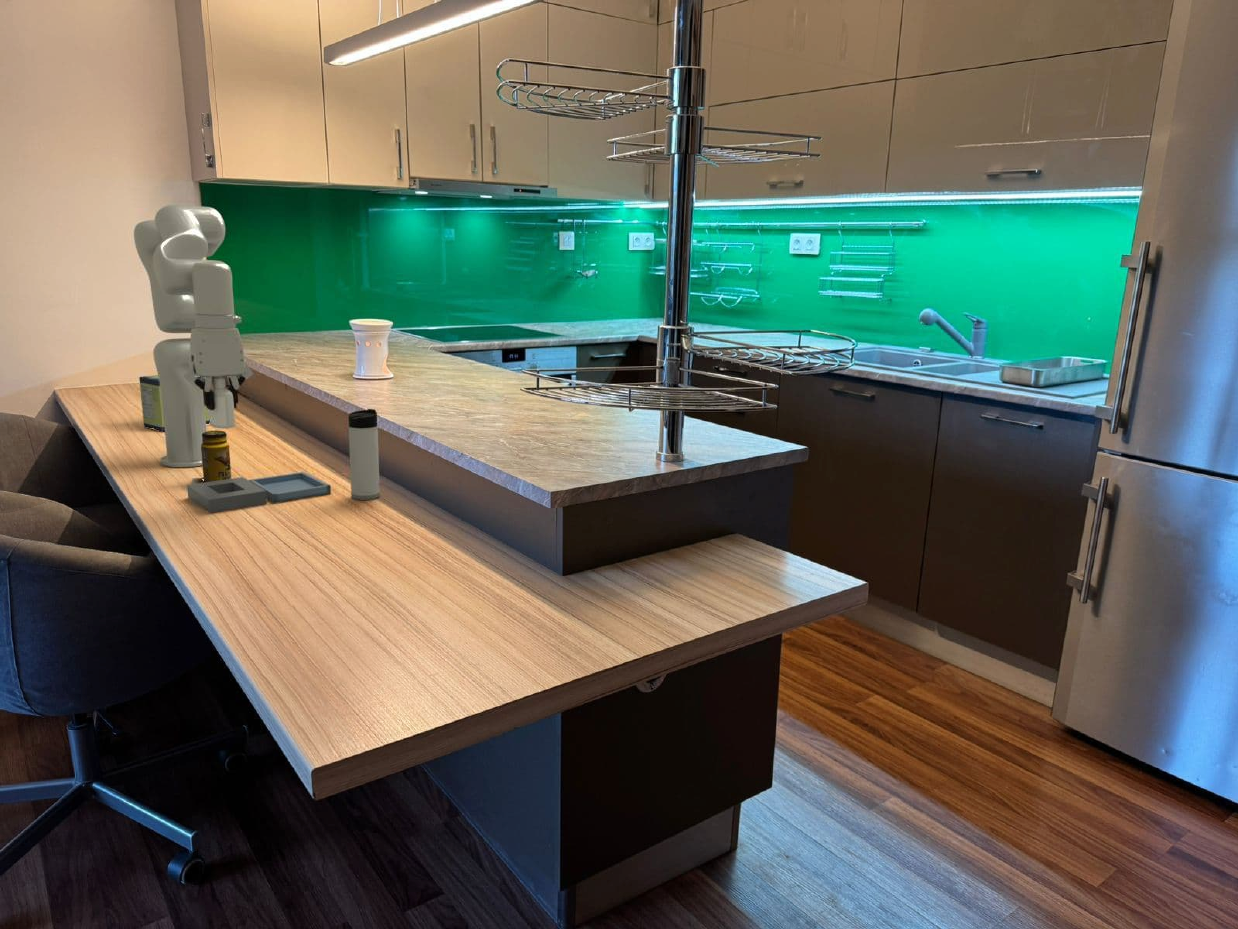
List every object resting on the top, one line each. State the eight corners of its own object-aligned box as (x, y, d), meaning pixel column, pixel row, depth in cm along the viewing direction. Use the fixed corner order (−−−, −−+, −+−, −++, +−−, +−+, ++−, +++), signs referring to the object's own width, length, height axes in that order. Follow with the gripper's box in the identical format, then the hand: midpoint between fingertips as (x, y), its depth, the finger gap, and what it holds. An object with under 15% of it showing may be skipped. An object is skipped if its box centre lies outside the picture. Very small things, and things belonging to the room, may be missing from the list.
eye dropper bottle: (215, 430, 180) (210, 374, 177) (209, 425, 185) (204, 370, 182) (236, 428, 183) (232, 373, 180) (230, 423, 187) (226, 369, 184)
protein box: (211, 425, 262) (207, 375, 259) (162, 432, 250) (157, 380, 246) (191, 420, 268) (187, 371, 264) (142, 427, 255) (137, 376, 251)
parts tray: (249, 488, 198) (248, 479, 197) (303, 479, 206) (303, 471, 206) (274, 503, 187) (274, 494, 187) (330, 493, 196) (330, 485, 195)
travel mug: (386, 495, 197) (384, 410, 192) (367, 502, 191) (364, 414, 186) (365, 491, 199) (362, 407, 194) (345, 497, 193) (342, 411, 188)
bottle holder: (188, 498, 188) (186, 485, 188) (243, 489, 196) (242, 477, 196) (209, 513, 178) (208, 499, 178) (266, 503, 186) (266, 490, 186)
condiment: (235, 483, 201) (232, 434, 199) (196, 487, 197) (192, 437, 194) (230, 476, 207) (226, 428, 204) (191, 479, 203) (187, 430, 200)
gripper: (249, 319, 186) (254, 401, 191) (166, 321, 175) (174, 408, 180) (262, 323, 181) (267, 407, 186) (177, 325, 170) (185, 414, 175)
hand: (221, 407), depth 183 cm, fingers closed on eye dropper bottle, 3 cm apart
